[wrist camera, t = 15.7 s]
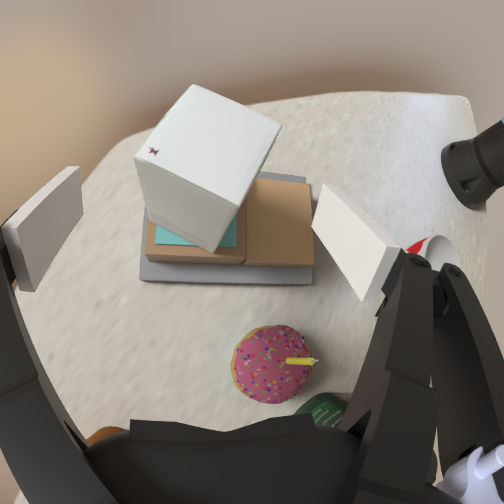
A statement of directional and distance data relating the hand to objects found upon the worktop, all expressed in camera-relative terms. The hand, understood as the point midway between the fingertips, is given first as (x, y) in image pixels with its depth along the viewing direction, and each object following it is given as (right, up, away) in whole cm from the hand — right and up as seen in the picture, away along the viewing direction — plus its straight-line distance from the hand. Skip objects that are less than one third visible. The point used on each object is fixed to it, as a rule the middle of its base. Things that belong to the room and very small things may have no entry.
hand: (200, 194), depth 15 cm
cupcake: (+4, -16, +18) cm, 24 cm away
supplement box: (-3, +2, +14) cm, 15 cm away
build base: (0, 0, +21) cm, 21 cm away
